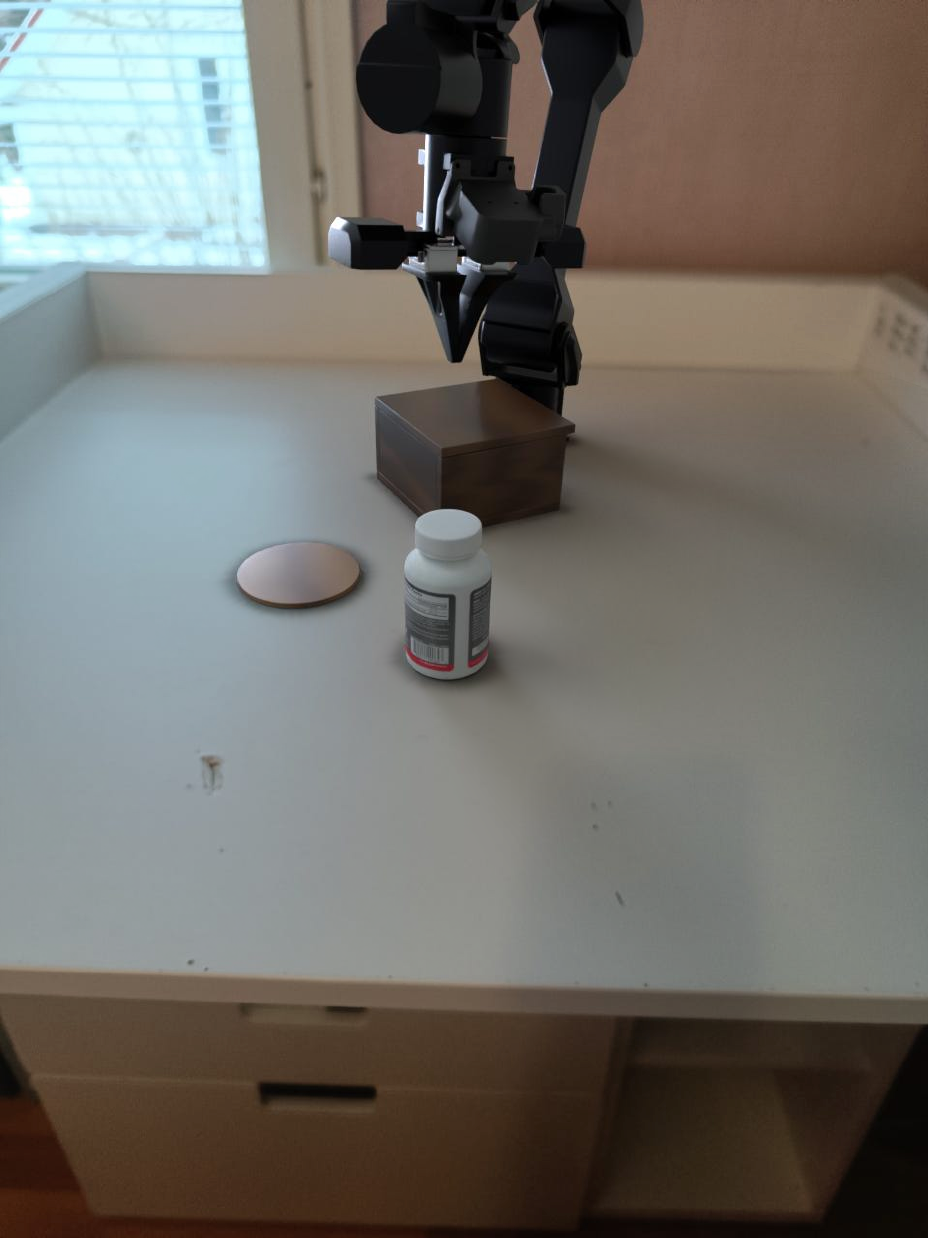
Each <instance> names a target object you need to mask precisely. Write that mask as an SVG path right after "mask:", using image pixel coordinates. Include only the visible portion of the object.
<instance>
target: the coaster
mask: <svg viewBox="0 0 928 1238" xmlns="http://www.w3.org/2000/svg"><path fill="white" fill-rule="evenodd" d="M360 578H361V568H360V564H359V561H358V560H357V559H356V558H355V556H354V555H353V554H351V553H349V552H348V551H347V550H345V549H343V548H340V547H338V546H336V545H332V544H328V543H322V542H313V541H297V542H289V543H288V542H287V543H282V544H277V545H273V546H269V547H266V548H263V549H261V550H259V551H257V552H255V553H253V554H251V555H250V556H248V557H247V558H246V559H245V560H244V561H243V562H242V563H241V564H240V566H239V568H238V570H237V572H236V582H237V586H238V588H239V590H240V592H241V593H242V594H243V595H244V596H246V597H247V598H248V599H250V600H252V601H254V602H256V603H259V604H261V605H264V606H269V607H272V608H273V607H274V608H279V609H303V608H305V609H306V608H312V607H313V608H314V607H317V606H322V605H324V604H325V605H326V604H329V603H332V602H334V601H336V600H338V599H340V598H342V597H344V596H346V595H347V594H349V593H350V592H352V590H353V589H354V588H355V587H356V586H357V584H358V582H359V580H360Z"/></svg>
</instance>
